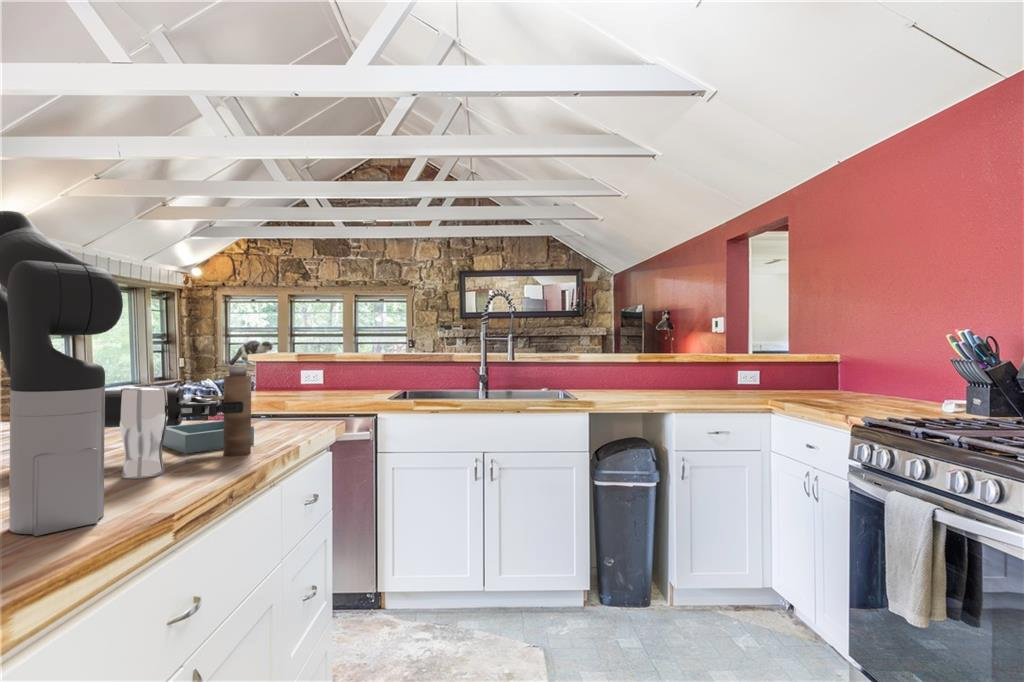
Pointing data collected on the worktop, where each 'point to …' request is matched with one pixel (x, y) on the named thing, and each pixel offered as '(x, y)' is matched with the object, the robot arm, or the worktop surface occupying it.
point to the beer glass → (143, 430)
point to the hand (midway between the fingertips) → (245, 404)
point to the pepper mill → (237, 423)
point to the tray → (196, 436)
